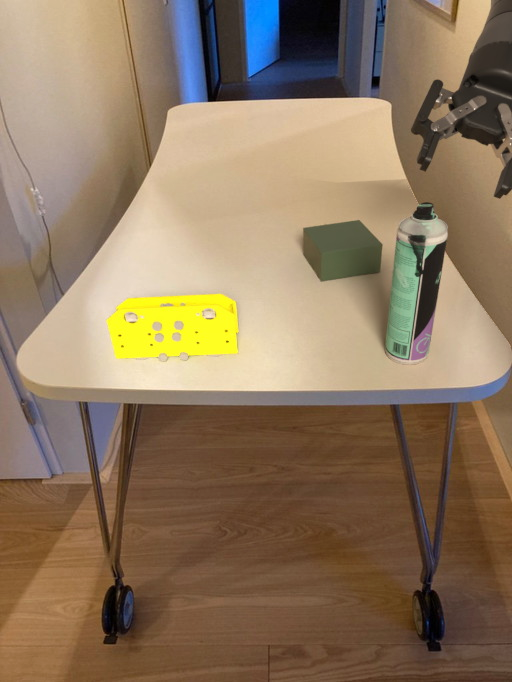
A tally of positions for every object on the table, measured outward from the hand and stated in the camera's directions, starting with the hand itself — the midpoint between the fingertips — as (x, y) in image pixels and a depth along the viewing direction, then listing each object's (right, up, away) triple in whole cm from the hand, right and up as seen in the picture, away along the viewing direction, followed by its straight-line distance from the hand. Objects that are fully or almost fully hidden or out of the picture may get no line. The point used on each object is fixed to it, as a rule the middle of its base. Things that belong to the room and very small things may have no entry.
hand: (462, 180), depth 59 cm
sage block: (-8, -4, +33) cm, 34 cm away
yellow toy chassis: (-33, -19, +15) cm, 40 cm away
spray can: (-3, -19, +12) cm, 23 cm away
